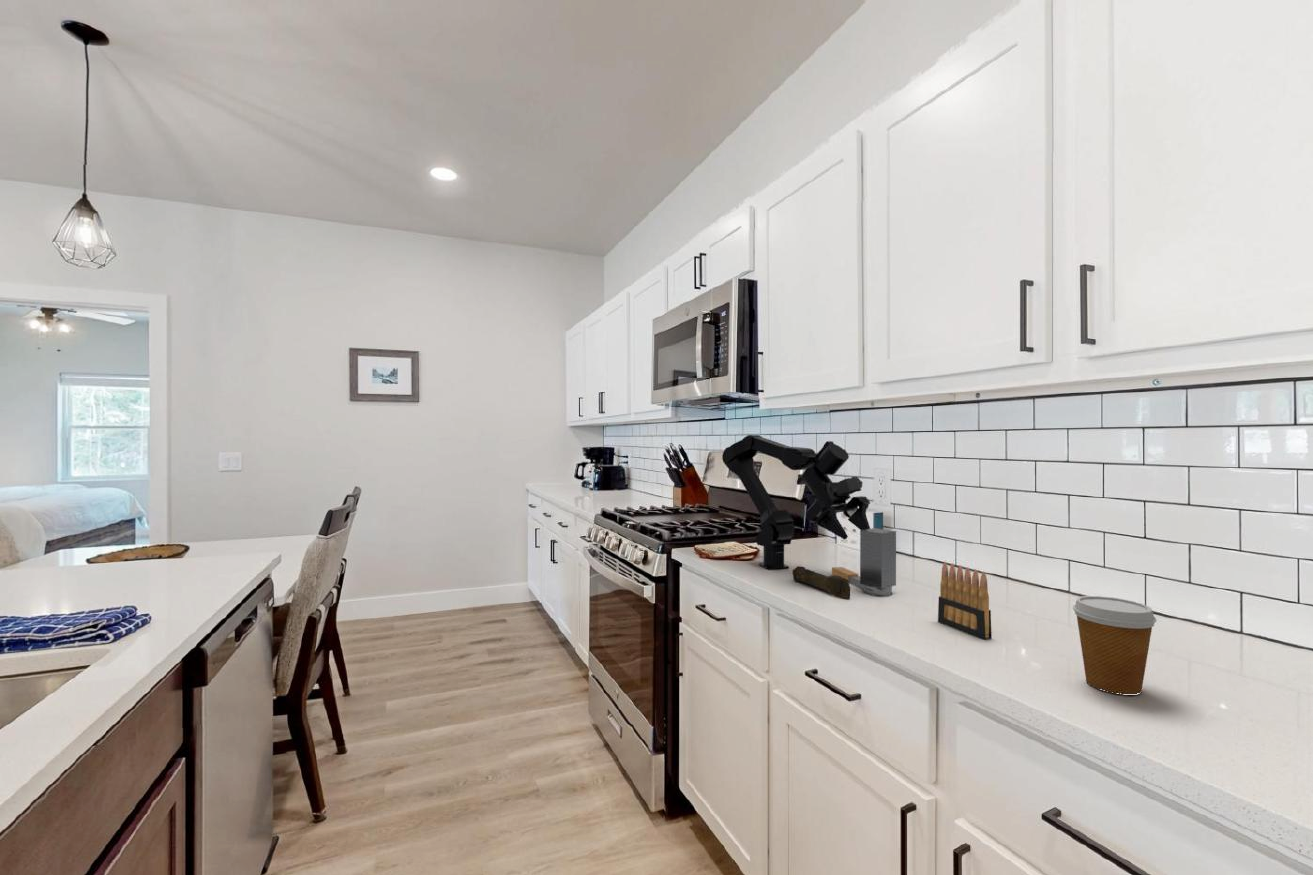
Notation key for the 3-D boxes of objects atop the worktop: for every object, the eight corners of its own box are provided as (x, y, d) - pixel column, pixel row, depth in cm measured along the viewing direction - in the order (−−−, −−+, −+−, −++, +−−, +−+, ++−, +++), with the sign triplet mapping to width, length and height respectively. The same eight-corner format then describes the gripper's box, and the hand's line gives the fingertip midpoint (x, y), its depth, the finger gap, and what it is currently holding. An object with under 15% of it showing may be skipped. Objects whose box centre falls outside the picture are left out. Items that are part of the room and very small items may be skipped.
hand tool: (791, 582, 145) (791, 563, 145) (805, 580, 147) (805, 562, 147) (839, 602, 128) (839, 581, 128) (854, 600, 129) (854, 580, 129)
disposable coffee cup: (1131, 706, 77) (1131, 617, 77) (1058, 679, 86) (1058, 599, 86) (1171, 694, 81) (1171, 609, 81) (1097, 669, 90) (1097, 592, 90)
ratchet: (826, 575, 152) (826, 556, 152) (847, 574, 153) (847, 555, 153) (873, 597, 131) (873, 575, 131) (897, 595, 132) (897, 574, 132)
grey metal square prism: (860, 583, 135) (860, 530, 135) (874, 580, 138) (874, 528, 138) (881, 588, 130) (881, 533, 130) (895, 585, 133) (896, 531, 134)
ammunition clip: (992, 638, 104) (992, 572, 104) (984, 640, 103) (984, 572, 103) (944, 621, 114) (944, 560, 114) (937, 622, 113) (937, 560, 113)
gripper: (815, 466, 138) (854, 518, 129) (863, 464, 148) (903, 512, 139) (790, 496, 144) (825, 548, 135) (838, 492, 155) (874, 540, 146)
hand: (858, 536), depth 139 cm, fingers open, 9 cm apart
